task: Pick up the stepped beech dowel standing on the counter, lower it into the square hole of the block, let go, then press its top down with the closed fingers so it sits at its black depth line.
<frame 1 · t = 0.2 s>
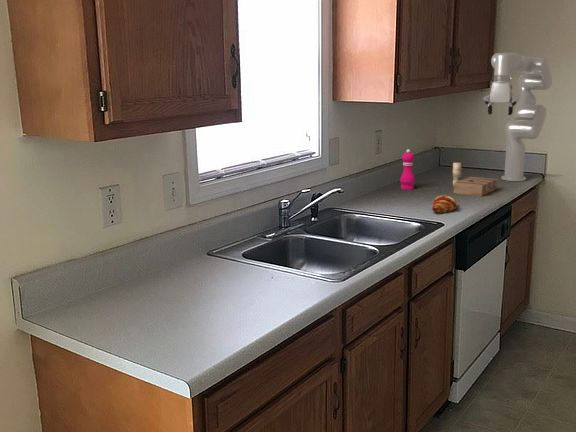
hand: (499, 114, 320), 36 cm above the worktop, tool pointing down, fingers open, 9 cm apart
board: (475, 191, 319), on the worktop
peg: (456, 186, 332), on the worktop
croissant: (445, 210, 282), on the worktop
pepper mill: (407, 189, 328), on the worktop
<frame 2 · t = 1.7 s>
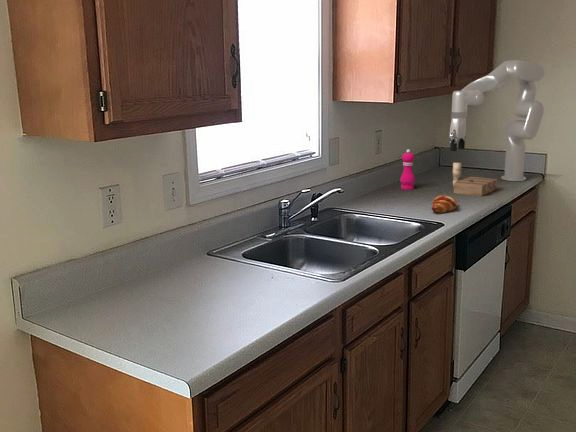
hand: (457, 149, 327), 19 cm above the worktop, tool pointing down, fingers open, 9 cm apart
nothing on the worktop moved.
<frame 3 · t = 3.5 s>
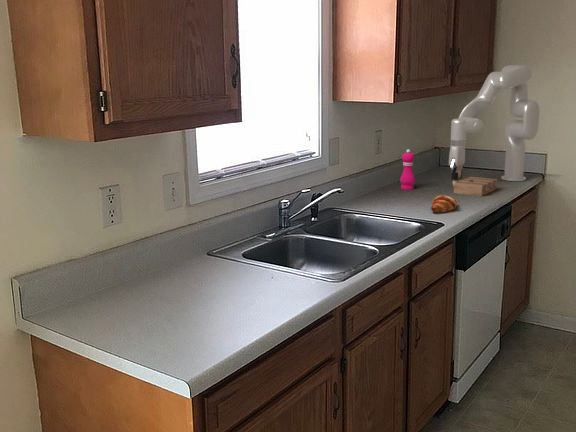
hand: (456, 178, 331), 4 cm above the worktop, tool pointing down, fingers closed on peg, 4 cm apart
peg: (456, 186, 332), on the worktop, touching gripper
everything else where it was.
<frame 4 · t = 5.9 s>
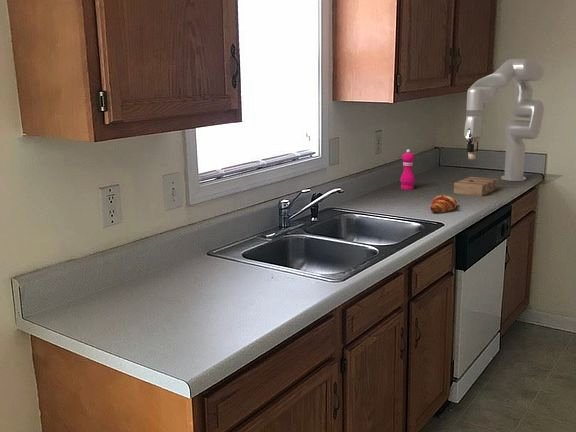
hand: (472, 151, 317), 19 cm above the worktop, tool pointing down, fingers closed on peg, 4 cm apart
peg: (471, 158, 318), point 16 cm above the worktop, touching gripper
everything else where it was.
when the fingers open (6 cm above the worktop, at t = 8.6 s): peg stays where it is, resting on board.
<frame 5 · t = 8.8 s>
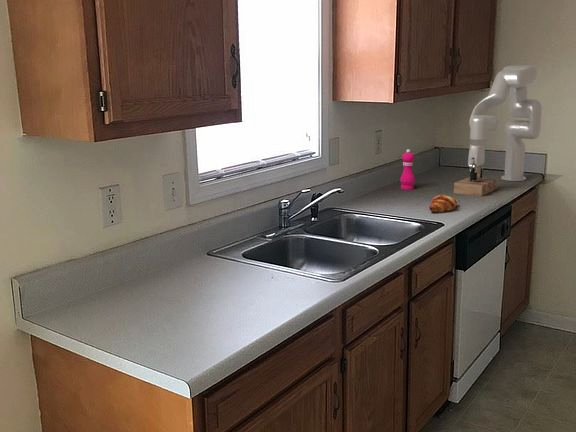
hand: (476, 178, 317), 6 cm above the worktop, tool pointing down, fingers open, 6 cm apart
peg: (475, 188, 319), point 1 cm above the worktop, touching board
everything else where it was.
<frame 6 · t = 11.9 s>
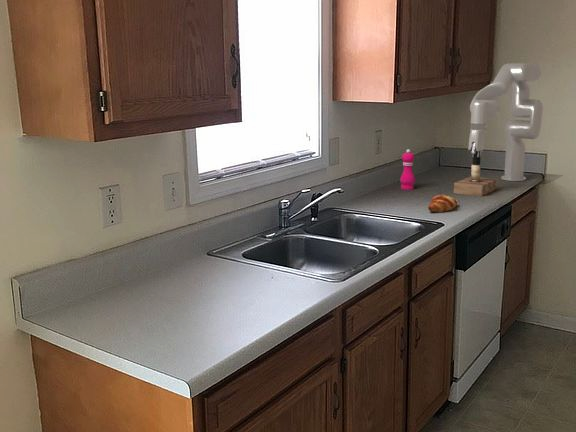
hand: (476, 164, 315), 13 cm above the worktop, tool pointing down, fingers closed
peg: (475, 188, 319), point 1 cm above the worktop, touching board, gripper
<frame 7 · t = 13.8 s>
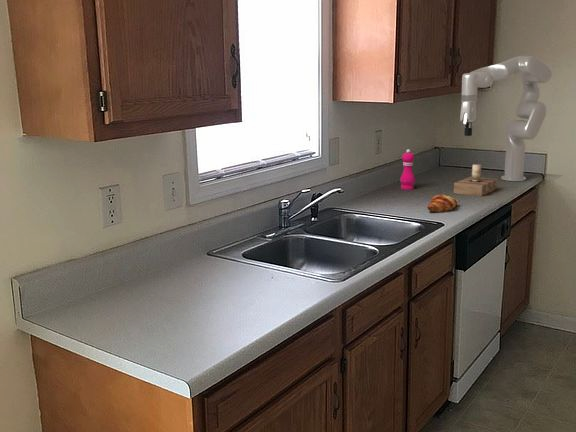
hand: (468, 135, 325), 26 cm above the worktop, tool pointing down, fingers closed
peg: (475, 189, 319), point 1 cm above the worktop, touching board
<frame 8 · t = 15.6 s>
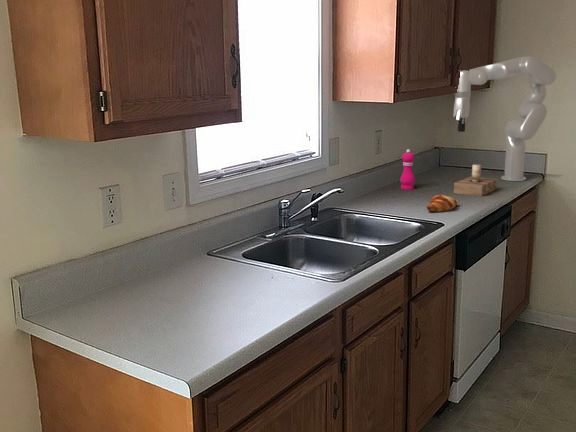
hand: (461, 131, 333), 27 cm above the worktop, tool pointing down, fingers closed
at the end: peg 0.1 cm off-centre on the board, point 1.0 cm above the board's base; peg tilted 0°; the gripper is holding nothing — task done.
